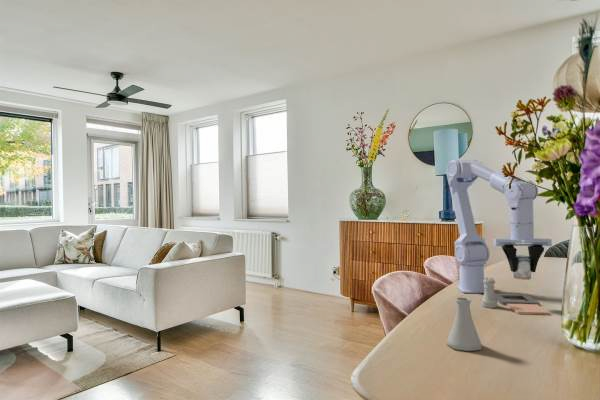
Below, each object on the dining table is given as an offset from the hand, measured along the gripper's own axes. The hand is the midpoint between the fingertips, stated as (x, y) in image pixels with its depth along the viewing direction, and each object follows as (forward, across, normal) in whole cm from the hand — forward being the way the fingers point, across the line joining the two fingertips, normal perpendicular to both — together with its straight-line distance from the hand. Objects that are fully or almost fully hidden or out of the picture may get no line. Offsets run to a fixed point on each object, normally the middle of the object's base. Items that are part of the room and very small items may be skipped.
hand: (522, 271), depth 111 cm
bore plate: (+10, 0, +7) cm, 12 cm away
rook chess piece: (+10, -9, 0) cm, 14 cm away
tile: (+10, 0, -3) cm, 11 cm away
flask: (+10, -23, -32) cm, 41 cm away
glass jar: (+2, 0, 0) cm, 2 cm away
